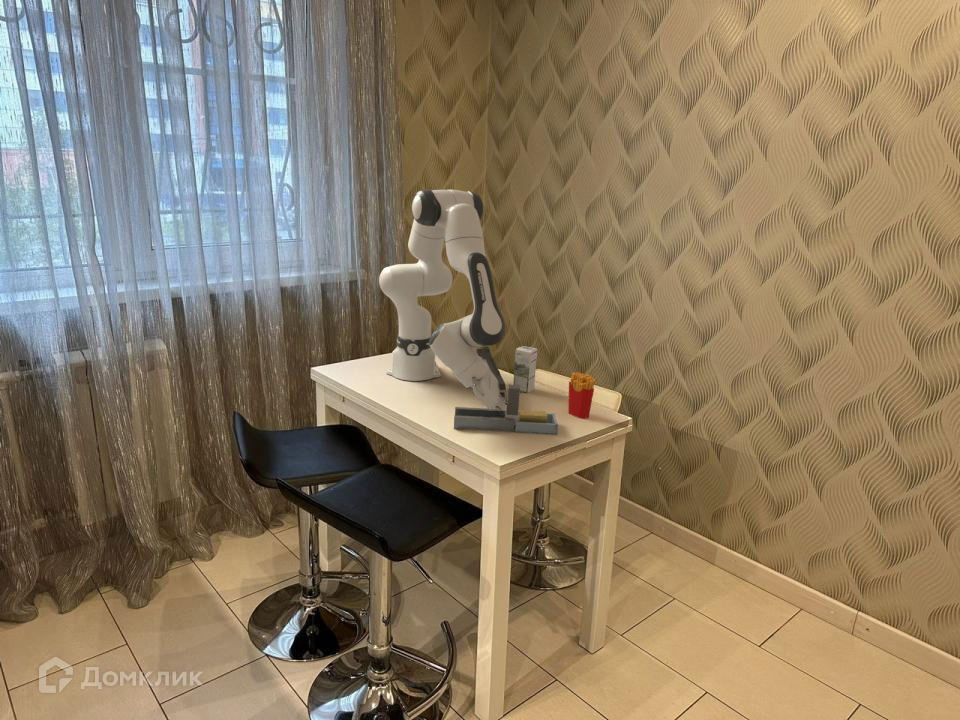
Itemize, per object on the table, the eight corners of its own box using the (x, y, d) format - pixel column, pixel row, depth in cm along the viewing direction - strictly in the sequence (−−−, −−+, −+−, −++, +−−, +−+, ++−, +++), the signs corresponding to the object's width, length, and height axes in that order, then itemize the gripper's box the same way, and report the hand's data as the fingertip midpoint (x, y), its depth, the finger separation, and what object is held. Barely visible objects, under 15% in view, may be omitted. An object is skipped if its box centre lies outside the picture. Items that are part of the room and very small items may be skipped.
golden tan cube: (517, 422, 202) (518, 409, 201) (531, 423, 202) (532, 410, 201) (518, 427, 198) (519, 414, 197) (532, 428, 198) (533, 415, 197)
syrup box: (534, 389, 234) (538, 347, 229) (527, 393, 228) (531, 351, 224) (519, 385, 236) (522, 344, 232) (512, 390, 231) (515, 348, 227)
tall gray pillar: (504, 419, 202) (507, 383, 198) (518, 420, 202) (520, 384, 199) (504, 424, 198) (507, 388, 195) (518, 425, 198) (521, 389, 195)
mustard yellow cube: (531, 423, 202) (532, 410, 201) (545, 423, 202) (546, 411, 201) (532, 428, 198) (533, 415, 197) (546, 429, 198) (547, 416, 197)
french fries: (563, 411, 214) (567, 371, 211) (573, 408, 217) (577, 369, 213) (584, 420, 208) (589, 380, 204) (594, 418, 210) (599, 377, 206)
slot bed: (454, 417, 204) (455, 406, 203) (512, 421, 204) (512, 409, 203) (453, 428, 196) (454, 417, 195) (513, 431, 196) (514, 420, 195)
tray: (513, 420, 204) (514, 411, 204) (554, 422, 205) (554, 413, 204) (515, 432, 196) (515, 422, 195) (557, 434, 196) (558, 424, 195)
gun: (489, 423, 218) (496, 384, 210) (469, 374, 240) (474, 337, 232) (504, 422, 219) (511, 384, 211) (482, 374, 241) (488, 337, 233)
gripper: (481, 377, 185) (515, 413, 188) (481, 355, 204) (512, 388, 207) (463, 391, 186) (497, 427, 189) (466, 369, 206) (496, 401, 209)
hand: (505, 407), depth 198 cm, fingers closed, pressing on tall gray pillar
